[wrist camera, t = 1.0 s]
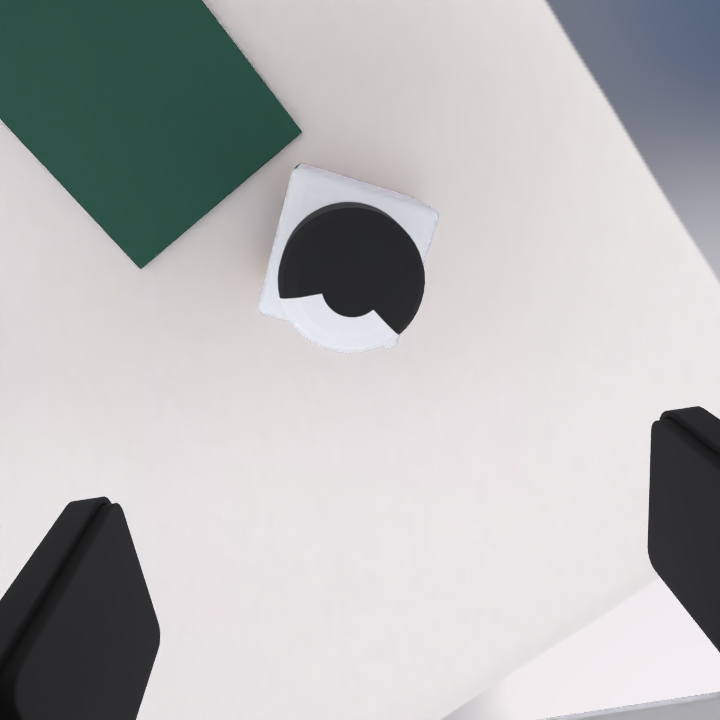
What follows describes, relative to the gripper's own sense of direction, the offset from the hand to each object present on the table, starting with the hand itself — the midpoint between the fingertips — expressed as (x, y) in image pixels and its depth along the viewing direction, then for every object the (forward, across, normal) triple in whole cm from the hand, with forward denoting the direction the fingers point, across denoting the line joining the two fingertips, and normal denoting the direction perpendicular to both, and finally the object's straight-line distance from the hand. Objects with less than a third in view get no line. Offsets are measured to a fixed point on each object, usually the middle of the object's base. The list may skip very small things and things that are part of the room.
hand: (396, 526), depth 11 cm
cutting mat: (+27, +10, -10) cm, 30 cm away
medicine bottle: (+27, 0, -1) cm, 27 cm away
